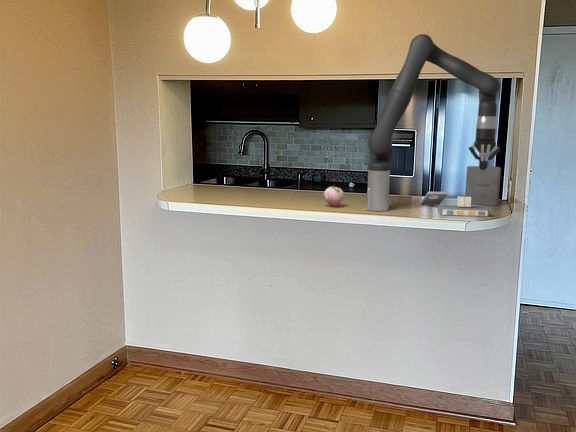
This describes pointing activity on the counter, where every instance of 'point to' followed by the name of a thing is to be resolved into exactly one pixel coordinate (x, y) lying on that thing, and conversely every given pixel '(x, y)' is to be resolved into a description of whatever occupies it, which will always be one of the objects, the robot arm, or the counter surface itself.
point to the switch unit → (463, 211)
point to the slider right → (467, 201)
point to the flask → (483, 185)
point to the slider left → (460, 201)
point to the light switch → (434, 198)
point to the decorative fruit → (333, 195)
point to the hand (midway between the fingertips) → (482, 170)
